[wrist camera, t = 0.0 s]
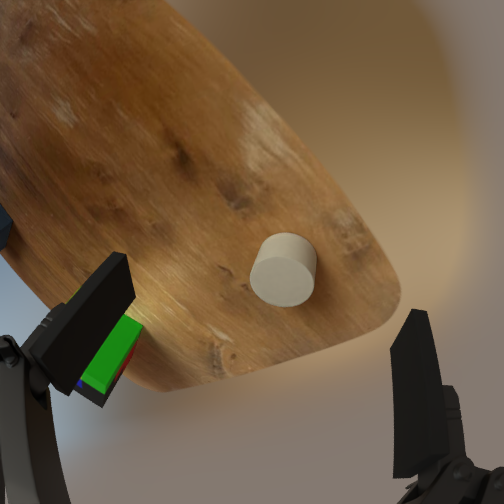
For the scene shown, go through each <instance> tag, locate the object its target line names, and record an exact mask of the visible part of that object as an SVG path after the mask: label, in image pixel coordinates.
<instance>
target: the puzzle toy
mask: <svg viewBox="0 0 504 504" xmlns="http://www.w3.org/2000/svg"><path fill="white" fill-rule="evenodd" d="M77 291H78V290H77ZM77 291H76V292H77ZM76 292H75V293H76ZM75 293H74V294H75ZM74 294H73V295H74ZM70 299H71V298H70ZM70 299H69V300H70ZM69 300H68V301H69ZM68 301H67V302H68ZM67 302H66V303H67ZM142 327H143V325H141V324H140V323H138V322H136V321H135V320H133V319H131V318H130V317H128V316H126V315H125V314H123V316H122V317H121V319H120V320H119V321H118V323H117V324H116V326H115V327H114V329H113V330H112V331H111V333H110V334H109V336H108V337H107V339H106V340H105V342H104V343H103V345H102V346H101V348H100V349H99V351H98V352H97V354H96V355H95V357H94V358H93V360H92V361H91V363H90V364H89V366H88V367H87V369H86V370H85V372H84V373H83V375H82V376H81V378H80V380H79V381H78V383H77V384H76V386H75V387H74V389H73V390H75V391H77V392H78V393H80V394H81V395H83V396H84V397H86V398H87V399H89V400H90V401H92V402H93V403H95V404H96V405H98V406H100V407H101V408H103V406H104V404H105V402H106V400H107V399H108V397H109V395H110V393H111V392H112V390H113V388H114V387H115V385H116V383H117V381H118V380H119V378H120V376H121V375H122V373H123V371H124V369H125V368H126V366H127V364H128V363H129V361H130V359H131V358H132V355H133V352H134V349H135V346H136V344H137V341H138V338H139V335H140V332H141V330H142Z"/></svg>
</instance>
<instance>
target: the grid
mask: <svg viewBox="0 0 504 504" xmlns="http://www.w3.org/2000/svg"><path fill="white" fill-rule="evenodd" d="M12 222H13V220H12V219H11V218H10V216H9V215H8V214H7V212H6V211H5V210H4V208H3V207H2V205H1V204H0V251H1V250H2V249H4V248H5V246H6V243H7V239H8V236H9V232H10V229H11V226H12Z"/></svg>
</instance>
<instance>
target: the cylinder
mask: <svg viewBox="0 0 504 504" xmlns="http://www.w3.org/2000/svg"><path fill="white" fill-rule="evenodd" d="M316 263H317V256H316V252H315V250H314V248H313V246H312V245H311V244H310V243H309V242H308V241H307V240H306V239H305V238H303V237H301V236H299V235H297V234H293V233H278V234H275V235H272V236H270V237H269V238H267V239H266V240H265V241H264V242H263V243H262V245H261V247H260V250H259V252H258V255H257V258H256V260H255V263H254V265H253V268H252V271H251V274H250V283H251V287H252V289H253V290H254V292H255V293H256V295H257V296H258V297H259V298H261V299H262V300H263V301H265V302H267V303H269V304H272V305H275V306H279V307H292V306H296V305H299V304H301V303H303V302H305V301H306V300H307V299H308V298H309V297H310V296H311V294H312V292H313V289H314V282H315V273H316Z"/></svg>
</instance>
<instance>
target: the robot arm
mask: <svg viewBox="0 0 504 504" xmlns="http://www.w3.org/2000/svg"><path fill="white" fill-rule="evenodd" d="M135 298H136V295H135V291H134V287H133V283H132V278H131V274H130V270H129V265H128V260H127V255H126V254H123V253H118V252H113V253H112V254H111V255H110V256H109V257H108V258H107V259H106V260H105V261H104V262H103V263H102V264H101V265H100V266H99V267H98V269H97V270H96V271H95V272H94V273H93V274H92V275H91V276H90V277H89V278H88V279H87V281H86V282H85V283H84V284H83V285H82V286H81V287H80V288H79V289H78V291H77V292H76V293H75V294H74V295H73V296H72V297H71V299H70V300H69V301H68V302H67V303H66V304H64V303H60V304H59V305H57V306H56V307H54V308H53V309H52V310H51V311H50V312H49V313H48V314H47V316H46V318H44V319H43V320H42V322H41V324H40V325H38V326H37V328H36V329H35V330H34V331H33V332H32V334H31V335H30V336H29V337H28V339H27V340H26V341H25V342H24V344H23V345H22V346H21V347H19V346H18V344H17V343H16V341H15V340H14V338H13V337H12V336H10V335H3V336H0V504H5V487H6V492H7V498H8V503H9V504H71V502H70V498H69V495H68V491H67V487H66V484H65V480H64V475H63V471H62V467H61V462H60V458H59V452H58V447H57V441H56V436H55V429H54V423H53V415H52V407H51V397H50V390H49V387H48V385H49V384H50V382H51V384H52V385H53V386H54V387H55V389H56V390H58V391H60V392H61V393H63V394H65V395H67V396H69V395H70V394H71V392H72V390H73V389H74V387H75V386H76V384H77V383H78V381H79V380H80V378H81V376H82V375H83V373H84V372H85V370H86V369H87V367H88V366H89V364H90V363H91V361H92V360H93V358H94V357H95V355H96V354H97V352H98V351H99V349H100V348H101V346H102V345H103V343H104V342H105V340H106V339H107V337H108V336H109V334H110V333H111V331H112V330H113V329H114V327H115V326H116V324H117V323H118V321H119V320H120V319H121V317H122V316H123V314H124V313H125V311H126V310H127V309H128V307H129V306H130V305H131V303H132V302H133V300H134V299H135ZM390 354H391V366H392V382H393V403H394V466H393V478H411V477H413V476H415V475H416V474H418V480H417V481H416V482H414V483H412V484H410V485H408V486H407V487H406V489H409V488H410V489H409V490H408V492H407V493H406V494H405V495H404V496H403V497H402V498H401V500H400V501H399V502H398V503H397V504H504V467H498V468H496V469H494V470H493V471H489V470H485V469H482V468H478V467H475V466H474V464H473V462H472V461H471V459H469V458H467V456H466V452H465V442H464V433H463V425H462V420H461V411H460V404H459V398H458V395H457V393H456V392H455V389H454V388H453V386H448V385H442V381H441V375H440V369H439V364H438V358H437V354H436V349H435V345H434V339H433V335H432V330H431V327H430V322H429V318H428V314H427V311H424V310H417V309H411V311H410V313H409V315H408V317H407V319H406V321H405V323H404V325H403V326H402V328H401V330H400V332H399V334H398V336H397V337H396V339H395V341H394V343H393V345H392V346H391V348H390Z"/></svg>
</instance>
